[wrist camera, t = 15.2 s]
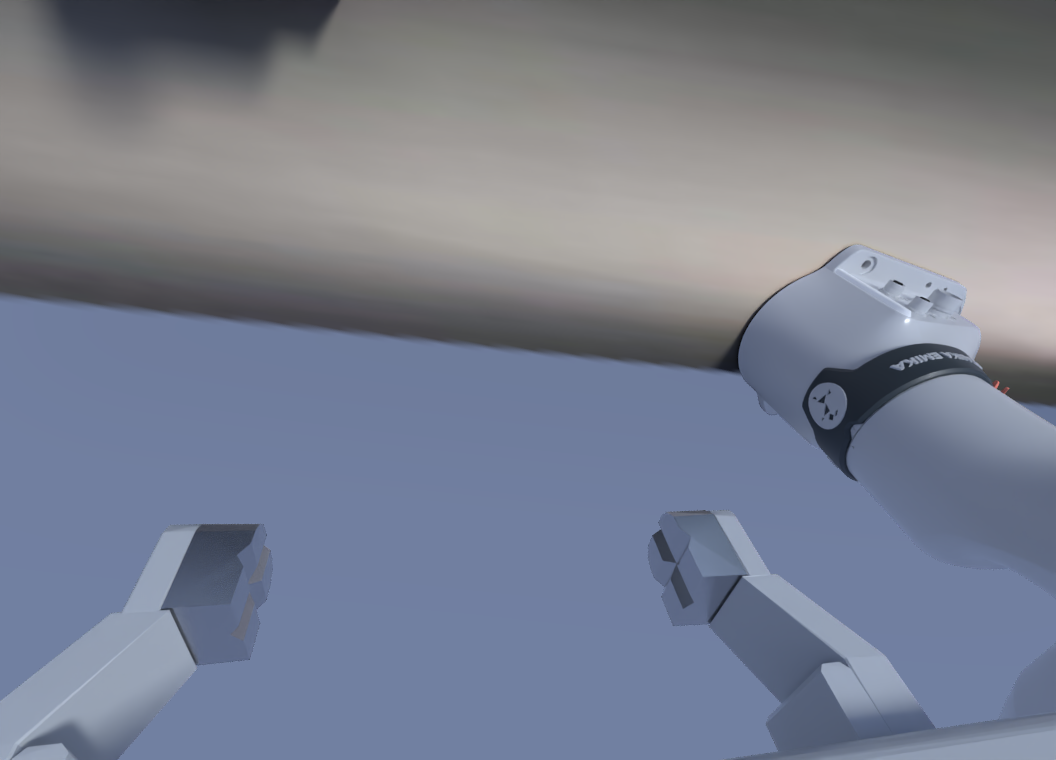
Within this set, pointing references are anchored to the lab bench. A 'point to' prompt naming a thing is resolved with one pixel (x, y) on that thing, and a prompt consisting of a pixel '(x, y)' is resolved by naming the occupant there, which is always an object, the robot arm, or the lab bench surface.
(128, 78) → the lab bench surface
